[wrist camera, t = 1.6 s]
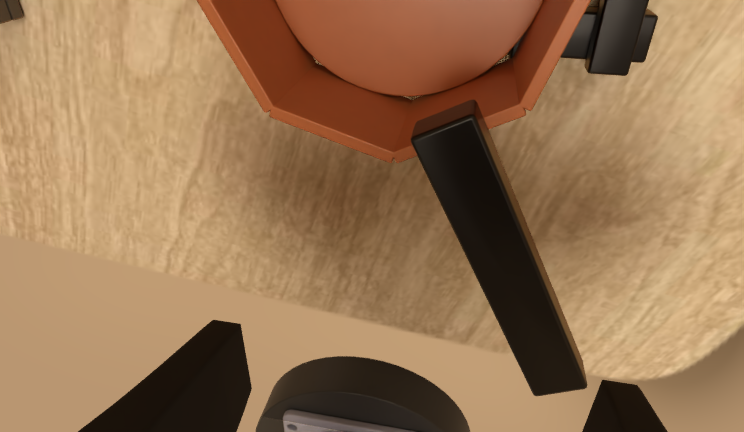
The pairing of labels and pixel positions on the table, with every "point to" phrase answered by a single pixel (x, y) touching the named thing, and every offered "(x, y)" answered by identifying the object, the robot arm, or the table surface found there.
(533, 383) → the pan
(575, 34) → the drying rack
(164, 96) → the table surface
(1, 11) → the dark gray serving tray
